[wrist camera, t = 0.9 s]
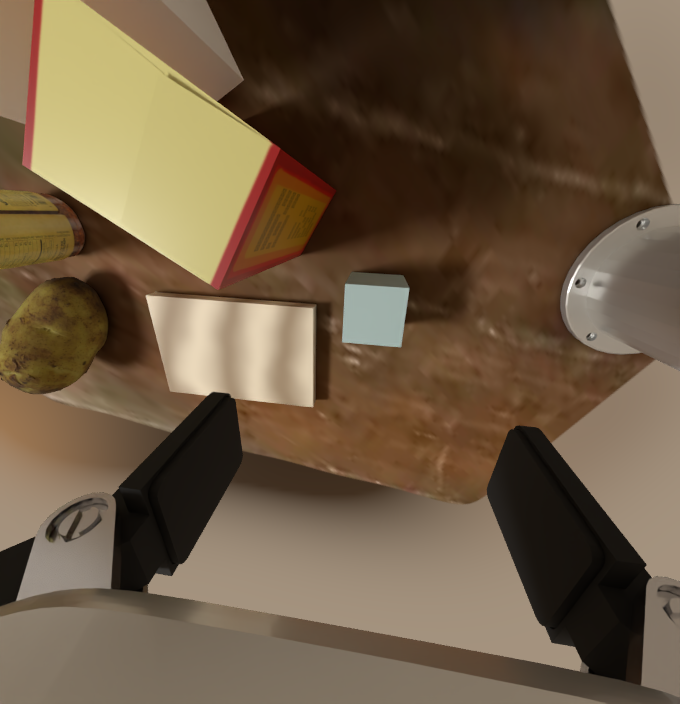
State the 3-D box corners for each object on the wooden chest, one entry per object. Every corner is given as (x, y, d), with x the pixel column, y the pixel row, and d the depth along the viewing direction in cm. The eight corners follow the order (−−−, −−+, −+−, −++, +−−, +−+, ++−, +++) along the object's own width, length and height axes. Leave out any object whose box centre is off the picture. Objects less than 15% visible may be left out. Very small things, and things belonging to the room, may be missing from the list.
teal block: (403, 275, 27) (409, 288, 22) (396, 324, 29) (400, 347, 24) (351, 271, 28) (345, 283, 22) (348, 320, 30) (342, 342, 24)
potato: (143, 320, 33) (77, 348, 26) (96, 378, 37) (29, 415, 30) (80, 264, 31) (-11, 277, 24) (39, 333, 35) (-48, 361, 28)
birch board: (316, 304, 29) (313, 308, 28) (315, 399, 34) (312, 407, 33) (155, 292, 31) (145, 295, 30) (177, 385, 36) (170, 391, 35)
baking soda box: (214, 195, 26) (12, 162, 12) (242, 120, 23) (23, -42, 9) (300, 255, 27) (213, 291, 13) (336, 190, 25) (277, 146, 10)
